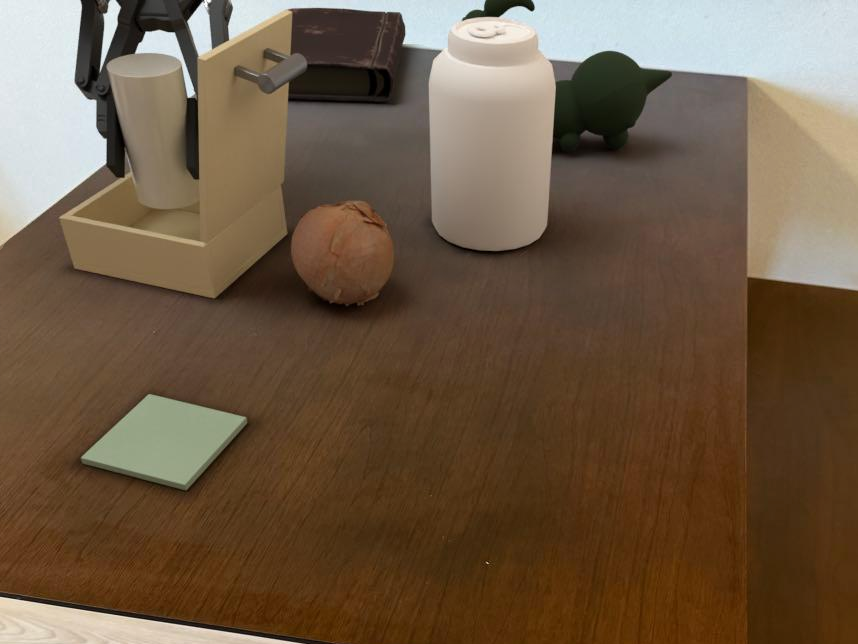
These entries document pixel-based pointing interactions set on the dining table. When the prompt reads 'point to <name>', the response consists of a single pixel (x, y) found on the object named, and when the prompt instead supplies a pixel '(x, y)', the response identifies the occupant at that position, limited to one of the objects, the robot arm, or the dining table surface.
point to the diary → (346, 53)
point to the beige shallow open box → (167, 240)
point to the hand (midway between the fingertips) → (155, 172)
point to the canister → (154, 127)
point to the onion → (343, 252)
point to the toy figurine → (593, 91)
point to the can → (491, 135)
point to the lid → (243, 120)
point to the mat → (165, 441)
